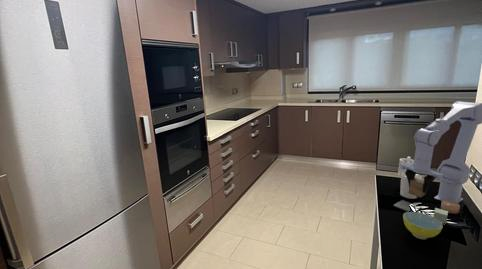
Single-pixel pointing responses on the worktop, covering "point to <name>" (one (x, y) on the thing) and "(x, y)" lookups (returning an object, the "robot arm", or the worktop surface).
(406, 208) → the plate
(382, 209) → the worktop surface
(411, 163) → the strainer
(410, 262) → the worktop surface
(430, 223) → the bowl
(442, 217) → the sage cube
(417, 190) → the walnut block
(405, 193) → the white cup
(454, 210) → the brown rounded disc
